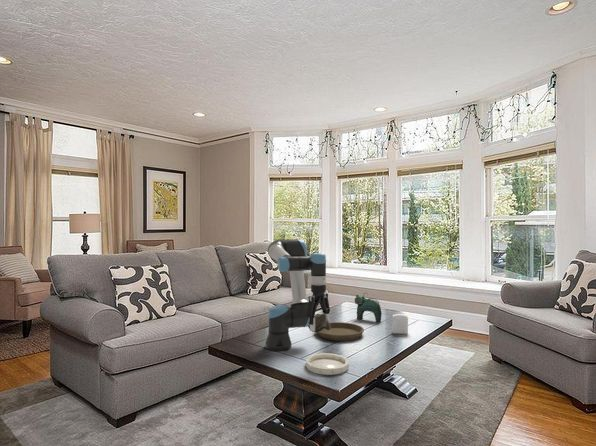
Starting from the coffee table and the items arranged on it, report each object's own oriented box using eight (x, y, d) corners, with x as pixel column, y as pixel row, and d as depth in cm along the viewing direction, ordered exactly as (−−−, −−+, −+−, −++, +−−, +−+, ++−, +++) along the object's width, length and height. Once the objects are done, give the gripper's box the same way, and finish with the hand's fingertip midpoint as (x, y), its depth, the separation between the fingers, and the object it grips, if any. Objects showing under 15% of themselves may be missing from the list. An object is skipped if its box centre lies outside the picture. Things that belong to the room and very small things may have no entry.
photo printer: (407, 332, 244) (407, 313, 244) (408, 334, 240) (408, 315, 240) (391, 332, 245) (391, 313, 245) (392, 333, 241) (392, 314, 241)
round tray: (297, 367, 184) (297, 362, 184) (321, 355, 201) (321, 350, 201) (334, 378, 171) (334, 372, 171) (356, 364, 188) (356, 359, 188)
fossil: (304, 330, 184) (307, 310, 189) (311, 335, 191) (314, 315, 196) (325, 332, 179) (327, 311, 184) (331, 336, 187) (333, 317, 191)
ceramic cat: (354, 318, 278) (354, 292, 278) (357, 317, 284) (357, 290, 284) (379, 323, 267) (379, 295, 267) (382, 321, 272) (382, 293, 272)
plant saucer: (319, 326, 258) (319, 320, 258) (364, 329, 251) (364, 322, 251) (311, 340, 227) (311, 333, 227) (363, 344, 221) (363, 336, 221)
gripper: (311, 287, 177) (311, 334, 176) (336, 282, 194) (337, 325, 194) (298, 286, 181) (299, 332, 181) (324, 281, 199) (325, 323, 198)
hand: (318, 328), depth 187 cm, fingers closed on fossil, 10 cm apart
